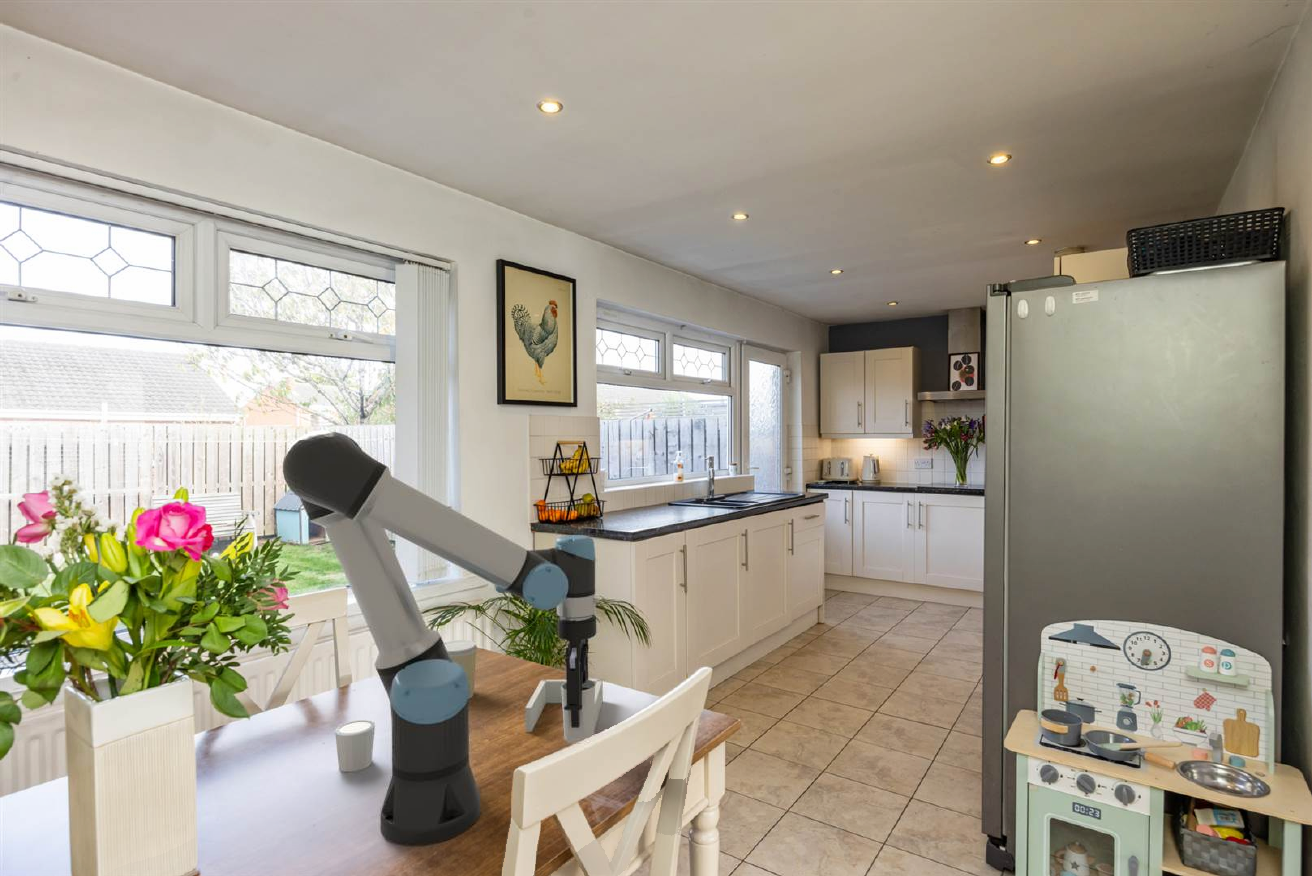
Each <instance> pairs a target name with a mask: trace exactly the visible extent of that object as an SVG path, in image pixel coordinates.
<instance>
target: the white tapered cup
mask: <svg viewBox="0 0 1312 876" xmlns="http://www.w3.org/2000/svg"><path fill="white" fill-rule="evenodd" d="M375 726H376V724H375V722H374V721H372V720H367V719H365V720H353V721H349V722H346V723H343V724H341V725H339V726H337V727H336V729H335V730H334V734H335V735H334V736H335V743H336V744H335V745H336V752H337V753H336V754H337V760H338V770H340V771H341V772H346V773H352V772H357V771H362V770H364V769H366V768H368V767H369V766H371V764H372V761H373V751H374V739H375V730H376V727H375Z"/></svg>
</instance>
